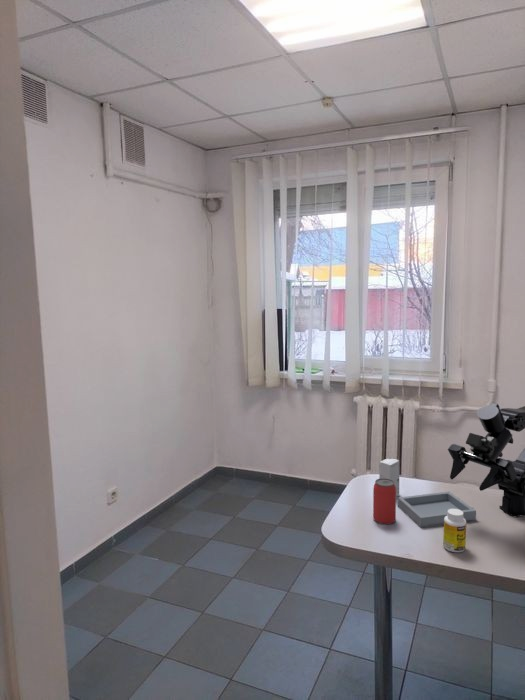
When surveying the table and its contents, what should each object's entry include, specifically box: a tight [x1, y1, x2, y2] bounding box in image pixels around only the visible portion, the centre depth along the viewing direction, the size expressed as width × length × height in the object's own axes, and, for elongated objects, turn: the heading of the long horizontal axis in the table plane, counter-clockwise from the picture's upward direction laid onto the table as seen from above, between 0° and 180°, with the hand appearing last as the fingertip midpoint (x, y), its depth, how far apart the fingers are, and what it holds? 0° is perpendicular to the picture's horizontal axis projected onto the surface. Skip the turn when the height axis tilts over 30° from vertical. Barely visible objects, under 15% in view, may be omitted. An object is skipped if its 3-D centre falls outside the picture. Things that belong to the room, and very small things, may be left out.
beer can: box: [372, 478, 397, 525], centre depth 145 cm, size 7×7×12 cm
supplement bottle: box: [442, 509, 467, 553], centre depth 129 cm, size 6×6×10 cm
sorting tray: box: [397, 491, 477, 529], centre depth 149 cm, size 18×14×3 cm
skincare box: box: [378, 457, 400, 498], centre depth 162 cm, size 6×4×12 cm
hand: (465, 483), depth 134 cm, fingers open, 9 cm apart
